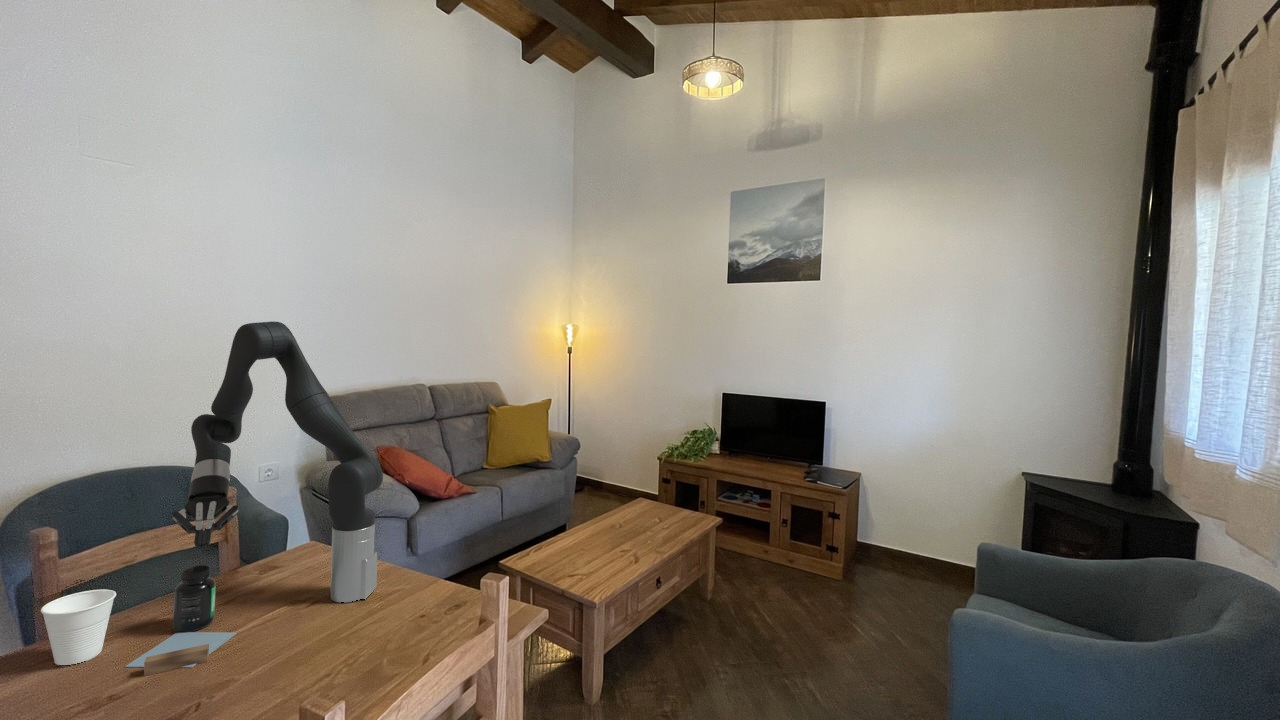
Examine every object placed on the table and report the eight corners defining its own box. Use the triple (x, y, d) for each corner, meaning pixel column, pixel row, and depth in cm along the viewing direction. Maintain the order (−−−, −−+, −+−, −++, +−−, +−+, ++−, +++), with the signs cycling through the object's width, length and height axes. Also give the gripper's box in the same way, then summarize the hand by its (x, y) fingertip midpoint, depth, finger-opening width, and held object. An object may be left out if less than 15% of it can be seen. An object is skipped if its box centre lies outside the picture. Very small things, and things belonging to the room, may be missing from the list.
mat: (237, 633, 111) (237, 632, 111) (191, 667, 99) (192, 666, 99) (177, 632, 110) (177, 632, 110) (124, 667, 98) (124, 666, 98)
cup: (65, 677, 95) (66, 617, 95) (24, 668, 97) (25, 609, 97) (128, 647, 105) (130, 592, 104) (90, 640, 107) (91, 586, 106)
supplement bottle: (222, 619, 116) (224, 565, 116) (190, 635, 109) (193, 577, 110) (196, 615, 117) (199, 561, 118) (163, 630, 111) (166, 573, 111)
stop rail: (208, 656, 103) (209, 643, 103) (207, 661, 101) (207, 648, 101) (146, 670, 98) (146, 657, 98) (143, 676, 96) (144, 662, 96)
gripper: (173, 476, 126) (161, 544, 116) (242, 471, 133) (237, 535, 123) (177, 493, 130) (165, 559, 120) (243, 487, 138) (238, 549, 128)
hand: (201, 547), depth 122 cm, fingers closed
